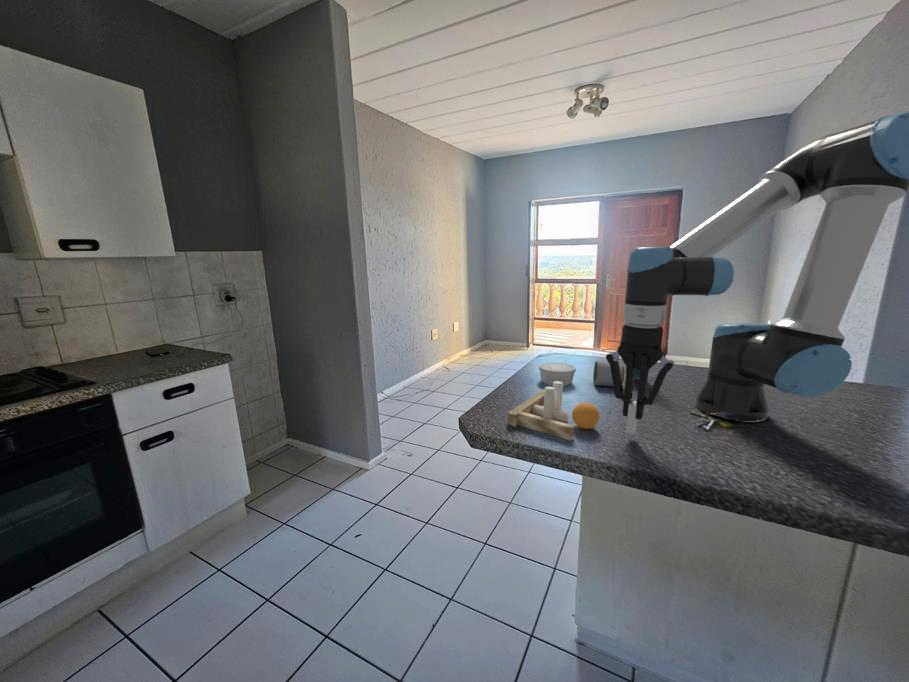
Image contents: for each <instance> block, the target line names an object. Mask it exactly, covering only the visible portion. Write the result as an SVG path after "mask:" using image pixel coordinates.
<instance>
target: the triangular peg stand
mask: <svg viewBox="0 0 909 682" xmlns="http://www.w3.org/2000/svg"><path fill="white" fill-rule="evenodd" d="M544 393H545V389H542V390H540V391H538V392H537V393H535V395H532V396H531V397H530V398H528V399H527V400H525V401H524V402H522V403H521V404H519V405H517V406H516V407H514V408H513V409H511V410H510V411H508V413H507V426H511V427H514V428H516V427H517V426H520V427H523V428H526V429H529V428H530V429H529V430H533V431H536V432H540V433H543V434H547V435H549V436H553V437H556V438H560V439H563V440H566V441H570V442H572V440H573V439H574V435H575V425H573V424H570V423H567V422H562V421H559V420H555V419H553V420H551V419H548V418H544V417H543V416H540V415H536V414H533V413H532V409H533V406H534V405H539V406H543V405H544ZM543 407H544V406H543Z"/></svg>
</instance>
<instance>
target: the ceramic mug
mask: <svg viewBox="0 0 909 682" xmlns="http://www.w3.org/2000/svg"><path fill="white" fill-rule="evenodd" d="M619 367H620V373H621V379H622V385H623V384H624V380H625V367H624V365H623V364H621V363H619ZM592 377H593V378H592V379H593V385H594V386H603V387H614V386H613V380H612V374H611V368H610V364H609V362H608V361H602V360H596V361H595V363H594V365H593V376H592Z"/></svg>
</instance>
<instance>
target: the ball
mask: <svg viewBox="0 0 909 682" xmlns="http://www.w3.org/2000/svg"><path fill="white" fill-rule="evenodd" d="M571 413H572V414H571V415H572V416H571V417H572V420H573V422H574V424H575V425H576V426H578V427H579V428H581V429H584V430H589V429H593V428H595V427H596V426H597V425H598V423H599V422H600V412H599V410H598V408H597V407H596V406H595V405H594V404H591V403H589V402H581V403H579V404H577V405H575V407H573V410H572V412H571Z"/></svg>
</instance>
